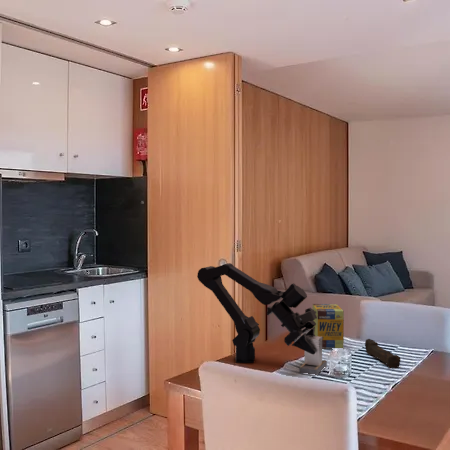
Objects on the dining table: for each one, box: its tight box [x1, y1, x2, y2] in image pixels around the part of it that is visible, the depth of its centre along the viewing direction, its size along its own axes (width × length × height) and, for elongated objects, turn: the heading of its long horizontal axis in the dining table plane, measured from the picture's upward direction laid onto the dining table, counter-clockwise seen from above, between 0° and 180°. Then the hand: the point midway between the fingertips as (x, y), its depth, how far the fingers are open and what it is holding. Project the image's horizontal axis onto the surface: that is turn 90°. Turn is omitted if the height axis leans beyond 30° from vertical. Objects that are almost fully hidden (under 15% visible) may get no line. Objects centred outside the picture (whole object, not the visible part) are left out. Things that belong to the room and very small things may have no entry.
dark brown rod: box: [364, 338, 401, 369], centre depth 193 cm, size 23×5×6 cm, turn 7°
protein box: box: [312, 303, 345, 349], centre depth 213 cm, size 10×15×16 cm
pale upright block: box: [304, 335, 323, 366], centre depth 180 cm, size 4×5×9 cm
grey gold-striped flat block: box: [298, 359, 328, 376], centre depth 180 cm, size 12×6×2 cm, turn 153°
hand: (317, 351), depth 179 cm, fingers open, 6 cm apart
